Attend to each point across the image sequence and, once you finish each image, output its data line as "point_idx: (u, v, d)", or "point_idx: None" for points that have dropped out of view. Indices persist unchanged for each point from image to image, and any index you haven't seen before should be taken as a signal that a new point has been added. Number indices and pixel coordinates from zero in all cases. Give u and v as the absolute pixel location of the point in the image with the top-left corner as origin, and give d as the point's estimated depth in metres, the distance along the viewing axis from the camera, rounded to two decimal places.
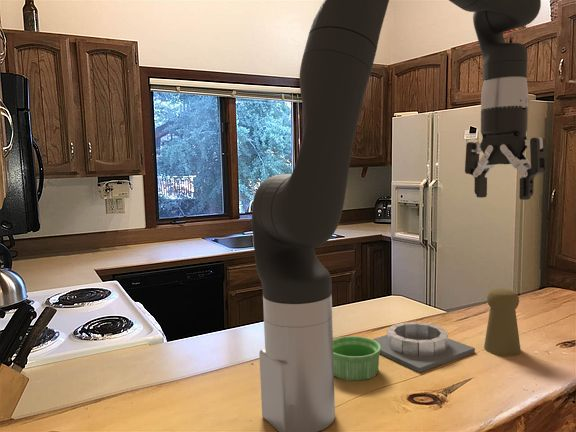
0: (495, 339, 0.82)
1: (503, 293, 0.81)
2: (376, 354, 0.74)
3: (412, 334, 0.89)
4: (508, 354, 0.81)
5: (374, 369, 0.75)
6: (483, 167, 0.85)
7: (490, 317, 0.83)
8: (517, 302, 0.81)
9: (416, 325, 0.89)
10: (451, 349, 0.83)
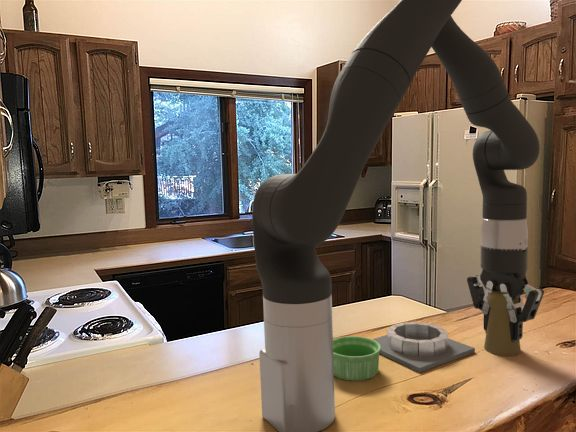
0: (495, 338, 0.82)
1: None
2: (376, 354, 0.74)
3: (412, 334, 0.89)
4: (508, 354, 0.81)
5: (374, 369, 0.75)
6: None
7: (490, 317, 0.83)
8: (517, 302, 0.81)
9: (416, 325, 0.89)
10: (451, 349, 0.83)
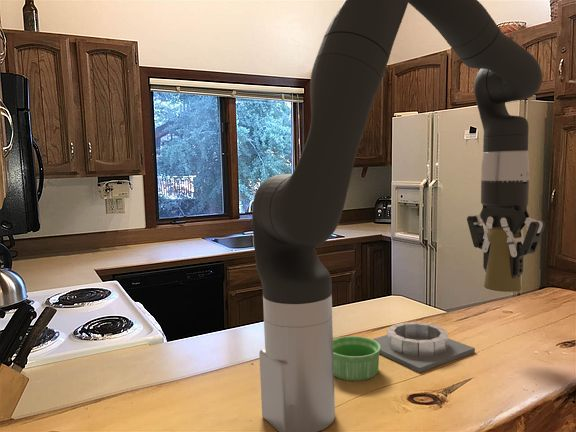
0: (495, 275, 0.81)
1: None
2: (376, 354, 0.74)
3: (412, 334, 0.89)
4: (508, 290, 0.80)
5: (374, 369, 0.75)
6: None
7: (490, 254, 0.82)
8: (518, 237, 0.80)
9: (416, 325, 0.89)
10: (451, 349, 0.83)
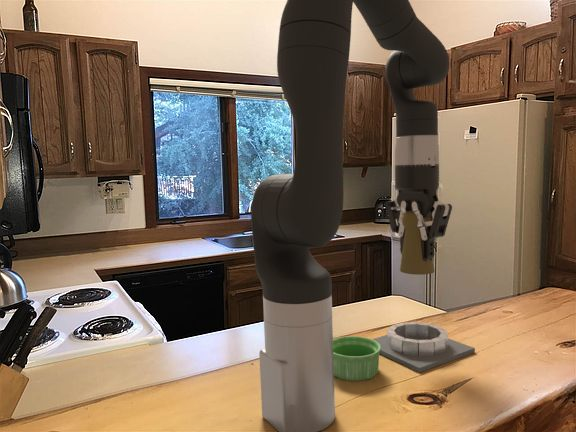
0: (408, 258, 0.82)
1: None
2: (376, 354, 0.74)
3: (412, 334, 0.89)
4: (420, 272, 0.81)
5: (374, 369, 0.75)
6: None
7: (404, 237, 0.83)
8: None
9: (416, 325, 0.89)
10: (451, 349, 0.83)
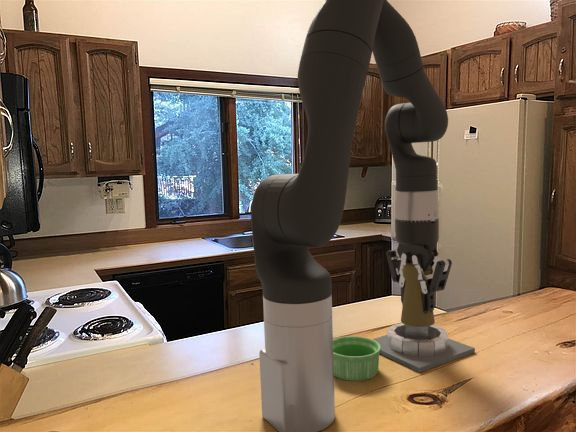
0: (408, 310, 0.83)
1: None
2: (376, 354, 0.74)
3: (412, 334, 0.89)
4: (420, 325, 0.82)
5: (374, 369, 0.75)
6: None
7: (405, 289, 0.84)
8: (430, 273, 0.82)
9: None
10: (451, 349, 0.83)
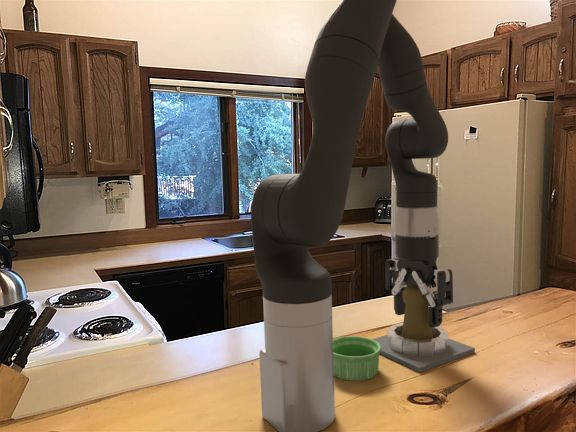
0: (408, 334, 0.83)
1: (415, 290, 0.82)
2: (376, 354, 0.74)
3: None
4: None
5: (374, 369, 0.75)
6: (400, 287, 0.86)
7: (405, 313, 0.84)
8: None
9: None
10: (451, 349, 0.83)
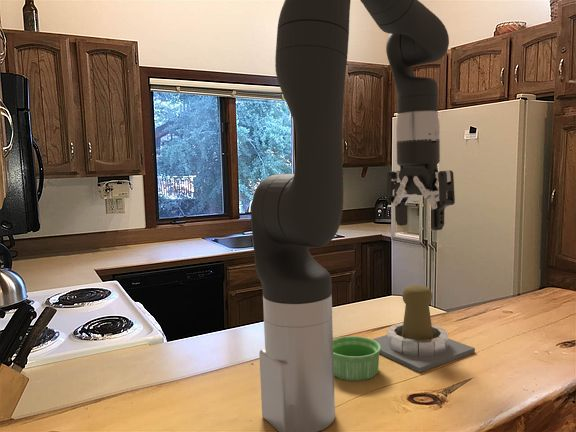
0: (408, 334, 0.83)
1: (415, 290, 0.82)
2: (376, 354, 0.74)
3: None
4: None
5: (374, 369, 0.75)
6: (401, 196, 0.87)
7: (405, 313, 0.84)
8: (430, 299, 0.82)
9: None
10: (451, 349, 0.83)
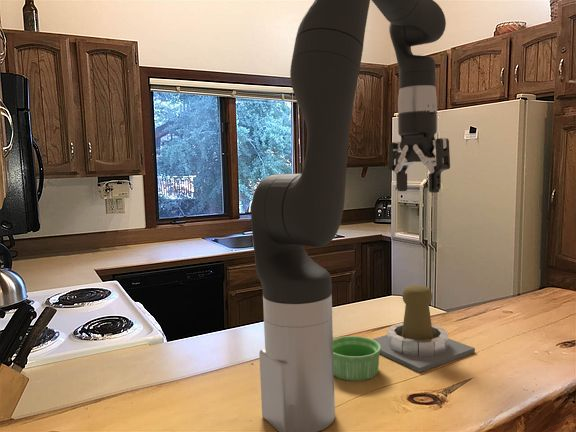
0: (408, 334, 0.83)
1: (415, 290, 0.82)
2: (376, 354, 0.74)
3: None
4: None
5: (374, 369, 0.75)
6: (402, 164, 0.97)
7: (405, 313, 0.84)
8: (430, 299, 0.82)
9: None
10: (451, 349, 0.83)
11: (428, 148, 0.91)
